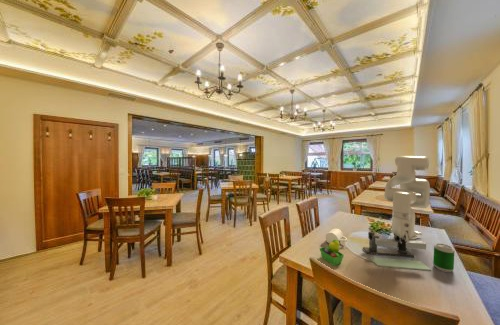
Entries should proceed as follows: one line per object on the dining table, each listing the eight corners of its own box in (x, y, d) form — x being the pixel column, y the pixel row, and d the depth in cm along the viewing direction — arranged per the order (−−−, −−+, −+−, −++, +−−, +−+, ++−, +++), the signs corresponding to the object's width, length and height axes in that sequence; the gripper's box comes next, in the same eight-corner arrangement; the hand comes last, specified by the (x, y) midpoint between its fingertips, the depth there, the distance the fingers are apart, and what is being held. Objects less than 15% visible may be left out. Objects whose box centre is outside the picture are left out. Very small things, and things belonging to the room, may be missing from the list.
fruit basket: (318, 256, 114) (318, 237, 113) (330, 254, 117) (331, 235, 116) (333, 267, 103) (333, 246, 102) (346, 264, 106) (346, 243, 105)
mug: (325, 242, 131) (325, 231, 131) (331, 238, 139) (331, 227, 138) (344, 248, 123) (344, 236, 123) (349, 243, 131) (349, 231, 130)
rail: (421, 246, 105) (422, 241, 105) (426, 249, 102) (426, 243, 102) (375, 243, 109) (375, 238, 109) (377, 245, 106) (378, 240, 106)
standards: (407, 252, 119) (407, 234, 119) (414, 257, 113) (415, 238, 112) (362, 248, 123) (363, 231, 123) (367, 253, 117) (367, 235, 116)
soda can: (455, 274, 97) (457, 251, 96) (435, 270, 101) (436, 247, 100) (450, 267, 103) (451, 245, 103) (431, 263, 107) (432, 241, 107)
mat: (420, 262, 108) (420, 261, 108) (431, 270, 100) (431, 269, 100) (370, 258, 112) (370, 257, 112) (377, 266, 104) (377, 265, 104)
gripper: (419, 220, 96) (418, 257, 97) (399, 210, 113) (398, 242, 113) (402, 219, 98) (401, 255, 98) (385, 210, 114) (384, 241, 114)
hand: (399, 248), depth 106 cm, fingers closed on rail, 3 cm apart
